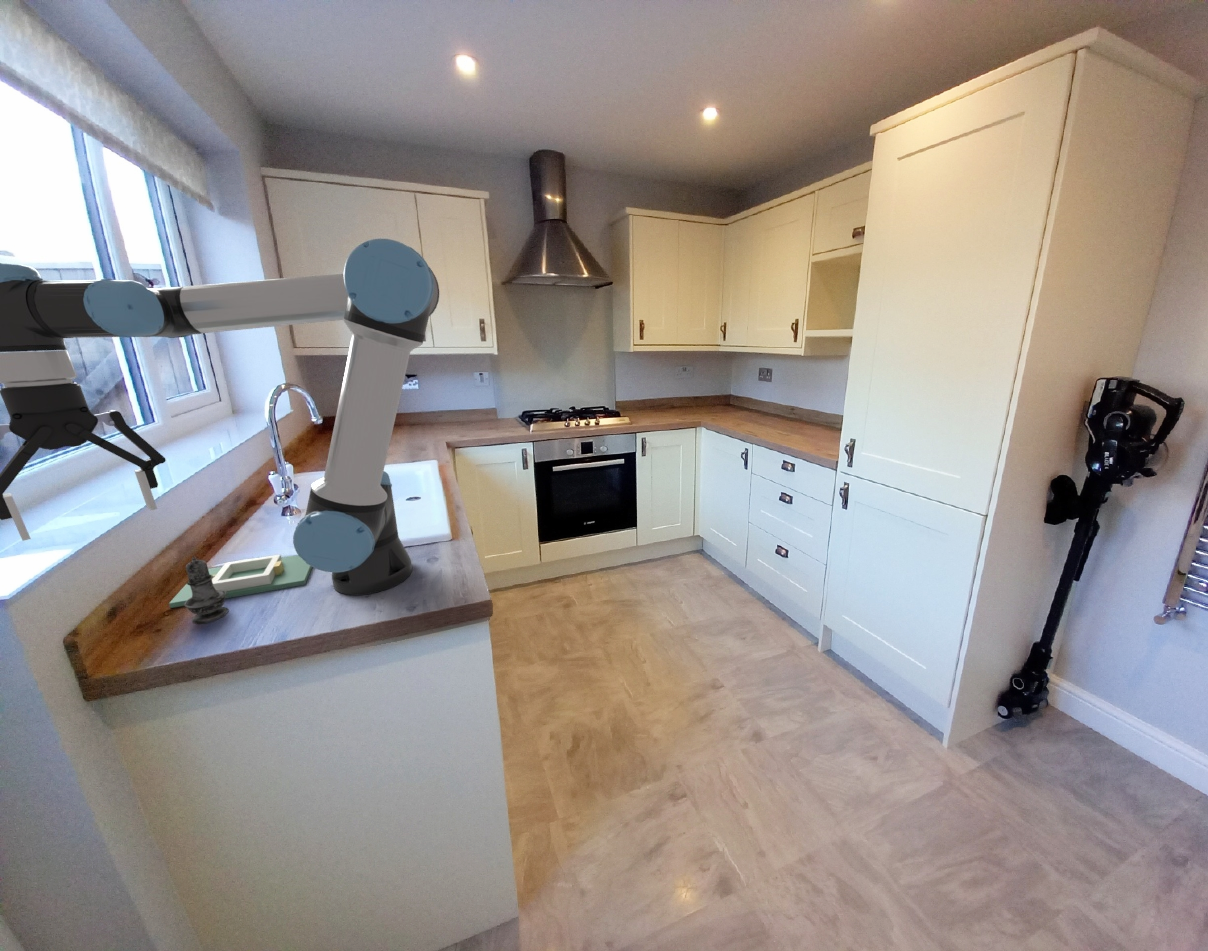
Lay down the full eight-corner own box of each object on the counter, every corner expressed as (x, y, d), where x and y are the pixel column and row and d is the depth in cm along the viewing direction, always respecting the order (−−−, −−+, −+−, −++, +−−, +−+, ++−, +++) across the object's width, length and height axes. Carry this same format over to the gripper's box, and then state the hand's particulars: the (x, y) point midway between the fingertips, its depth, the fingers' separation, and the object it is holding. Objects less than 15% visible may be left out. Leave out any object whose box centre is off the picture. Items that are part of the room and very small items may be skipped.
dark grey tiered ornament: (238, 606, 88) (222, 548, 84) (214, 624, 82) (196, 563, 79) (206, 606, 88) (190, 549, 84) (180, 625, 82) (161, 564, 78)
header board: (316, 556, 108) (314, 544, 107) (305, 584, 95) (302, 571, 94) (199, 574, 100) (196, 561, 99) (170, 608, 87) (165, 594, 86)
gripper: (150, 374, 77) (188, 494, 83) (-116, 392, 58) (-41, 546, 64) (162, 375, 73) (202, 501, 79) (-121, 395, 54) (-39, 560, 60)
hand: (93, 522), depth 72 cm, fingers open, 13 cm apart
